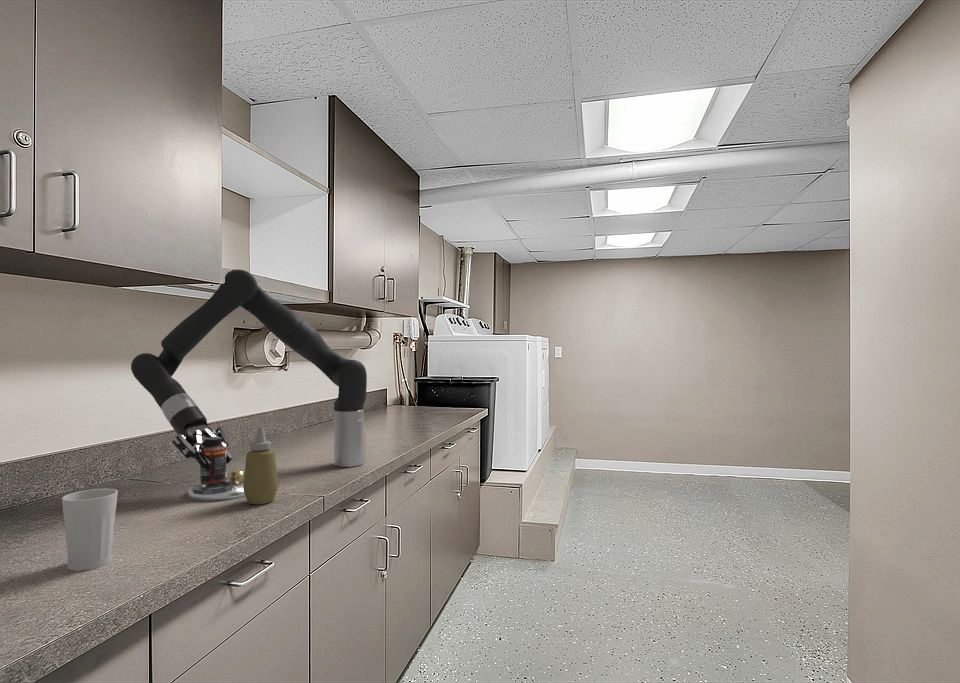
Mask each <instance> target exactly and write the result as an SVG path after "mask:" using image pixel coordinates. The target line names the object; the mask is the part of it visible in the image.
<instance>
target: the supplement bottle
mask: <svg viewBox="0 0 960 683" xmlns="http://www.w3.org/2000/svg"><path fill="white" fill-rule="evenodd" d="M226 449H227V448H226V447H225V446H224V445H223V444H222V437H209V438H205V445H204V446H202V453H203V452H204V453H205V455H206V456H207V458H208V459H209V460H210V462H211V465H210V467H209V468H208V469H204V468H202V467H201V466H200V469H199V470H200V484H201V483H202V484H204V485H214V484H220V483H223V482H225V481H226V480H227V464H226Z"/></svg>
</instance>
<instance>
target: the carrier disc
mask: <svg viewBox="0 0 960 683" xmlns="http://www.w3.org/2000/svg"><path fill="white" fill-rule="evenodd" d="M244 474H245V469H233V470H230V471H229V473H228V479H226V481H225V482H223V483H220V484H214V485H204V484H202V483H201V482H200V483H199V484H196V485H194V486H191V487H190V488H189V489H187V490H188V491H187V495H188V496H187V498H188V497H189V498H188V499H189V500H192V501H196V500H197V501H196V502H220V501H228V500H236V499H240V498H243V497H246V496H245V493H244V490H243V484H244Z"/></svg>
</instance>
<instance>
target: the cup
mask: <svg viewBox="0 0 960 683" xmlns="http://www.w3.org/2000/svg"><path fill="white" fill-rule="evenodd" d="M118 493H119V491H118V489H114V488H94V489H87V490H85V489H84V490H81V491H75V492H72V493H68V494H66V495H63V496H62V497H61V503H62V511H63V512H62V513H63V514H62V515H63V518H64V527H65V528H64V529H65V538H66V539H65V542H66V549H67V550H66V551H67V569H68V570H69V569H70V570H69V571H72V570H74V571H73V572H81V571H82V570H84V571H89V570H94V569H95V570H96V569H99V568H102V567H104V566H106V565H108V564H110V563H111V562H112V561H113V544H114V531H115V522H116V521H115V520H116V519H115V518H116V510H117V503H118V502H117V500H118ZM101 566H102V567H101ZM98 567H99V568H98Z"/></svg>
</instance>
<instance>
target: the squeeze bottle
mask: <svg viewBox="0 0 960 683" xmlns="http://www.w3.org/2000/svg"><path fill="white" fill-rule="evenodd" d="M271 448H272V441H271V440H267V437H266V433H265V429H264V427H263V426H258V427H257V432H256V436H255V440H254V441H252V442H250V451H248V452H246V456H245V457H246V458H245V467H244V484H243V490H244V493H245V496H244V497H245V498H246V501H247V503H248V504H250V505H265V504H269V503H271V502H273V501H274V500H275V498H276V497H275V496H276V494H277V492H278V489H279V479H278V470H277V461H276V452H275V451H274V450H273V449H271Z"/></svg>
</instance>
